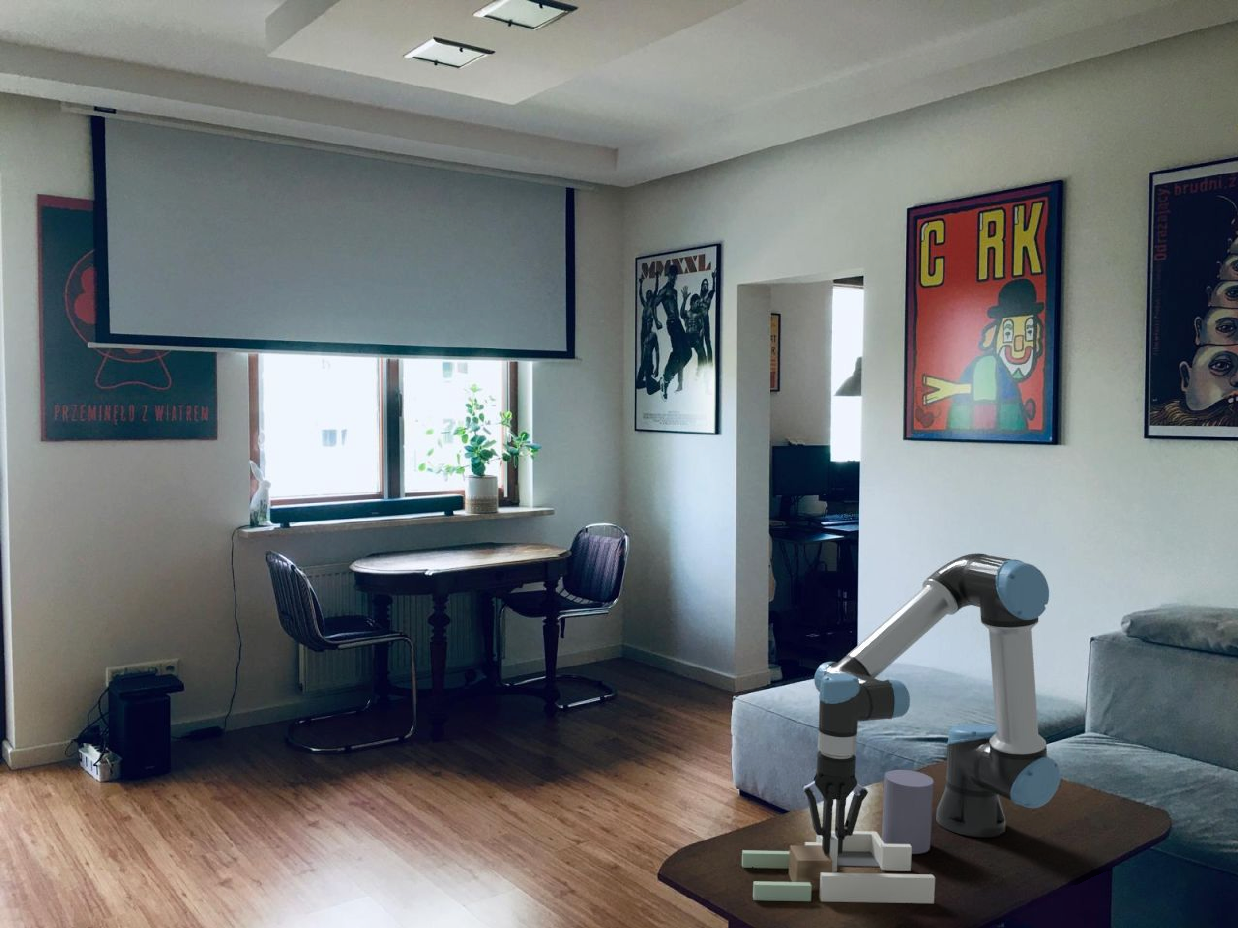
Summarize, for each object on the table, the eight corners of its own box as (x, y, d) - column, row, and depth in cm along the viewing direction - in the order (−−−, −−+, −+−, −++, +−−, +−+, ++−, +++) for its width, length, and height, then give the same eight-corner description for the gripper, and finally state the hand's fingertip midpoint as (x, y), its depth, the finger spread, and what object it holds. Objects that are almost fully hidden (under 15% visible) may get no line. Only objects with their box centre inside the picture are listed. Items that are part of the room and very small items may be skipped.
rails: (794, 865, 212) (794, 851, 212) (810, 900, 197) (811, 885, 197) (741, 864, 212) (742, 850, 212) (754, 899, 196) (754, 884, 196)
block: (822, 874, 208) (824, 845, 208) (831, 890, 201) (832, 860, 201) (788, 874, 208) (789, 845, 208) (795, 890, 201) (797, 860, 201)
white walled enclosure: (895, 849, 222) (897, 827, 221) (933, 903, 198) (935, 877, 197) (795, 847, 221) (796, 825, 220) (821, 901, 197) (822, 875, 197)
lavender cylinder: (895, 856, 218) (898, 787, 218) (873, 836, 228) (876, 770, 228) (939, 853, 220) (942, 785, 220) (915, 834, 231) (918, 768, 230)
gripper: (863, 747, 207) (858, 860, 208) (800, 745, 207) (795, 859, 208) (874, 759, 200) (868, 877, 201) (808, 758, 199) (803, 876, 200)
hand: (831, 868), depth 204 cm, fingers closed
